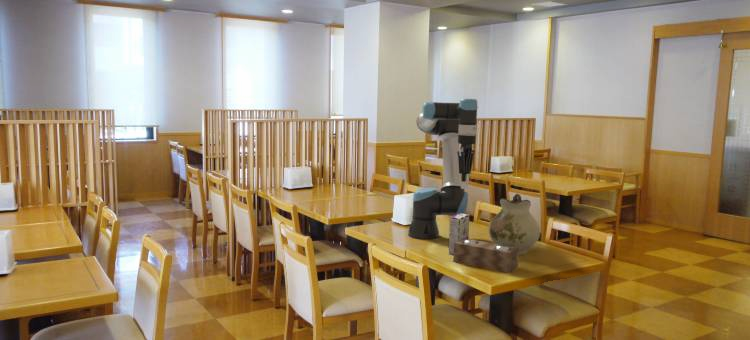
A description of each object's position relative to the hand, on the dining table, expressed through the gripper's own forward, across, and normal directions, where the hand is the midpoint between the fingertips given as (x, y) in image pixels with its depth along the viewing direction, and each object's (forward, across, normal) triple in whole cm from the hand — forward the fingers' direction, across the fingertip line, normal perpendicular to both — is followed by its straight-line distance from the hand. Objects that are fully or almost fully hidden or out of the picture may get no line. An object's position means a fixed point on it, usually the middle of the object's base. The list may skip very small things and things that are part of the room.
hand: (464, 188), depth 249 cm
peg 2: (+27, -11, -23) cm, 37 cm away
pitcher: (+29, +17, -17) cm, 37 cm away
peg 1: (+27, -11, -9) cm, 31 cm away
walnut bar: (+28, -11, -16) cm, 34 cm away
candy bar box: (+29, -1, +1) cm, 29 cm away
